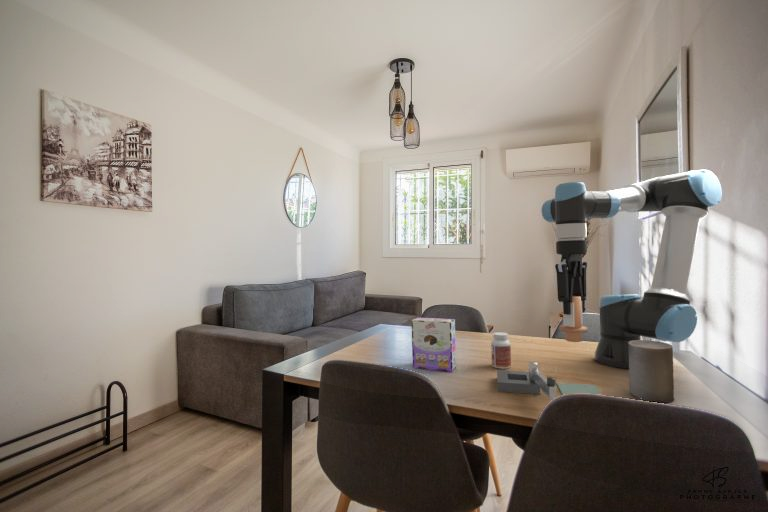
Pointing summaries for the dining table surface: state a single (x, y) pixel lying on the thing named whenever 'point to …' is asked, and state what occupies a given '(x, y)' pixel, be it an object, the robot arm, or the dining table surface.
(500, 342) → the pill bottle
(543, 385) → the clip
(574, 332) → the plug
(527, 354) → the dining table surface
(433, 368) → the candy box
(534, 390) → the socket
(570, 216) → the robot arm
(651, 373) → the pillar candle
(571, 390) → the mat
